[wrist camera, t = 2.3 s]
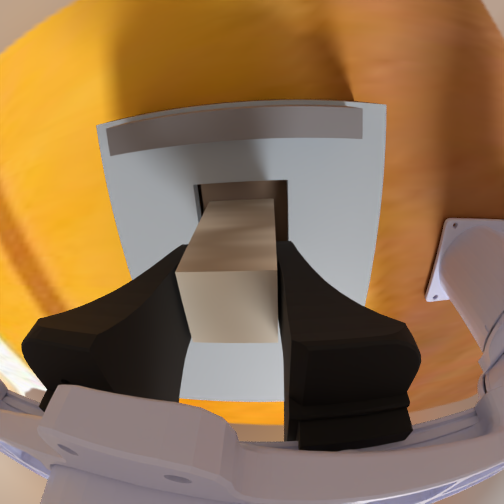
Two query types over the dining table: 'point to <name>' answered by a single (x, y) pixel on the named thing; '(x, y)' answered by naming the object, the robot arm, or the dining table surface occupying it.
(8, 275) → the dining table surface
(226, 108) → the toolbox lid
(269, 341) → the wooden block
